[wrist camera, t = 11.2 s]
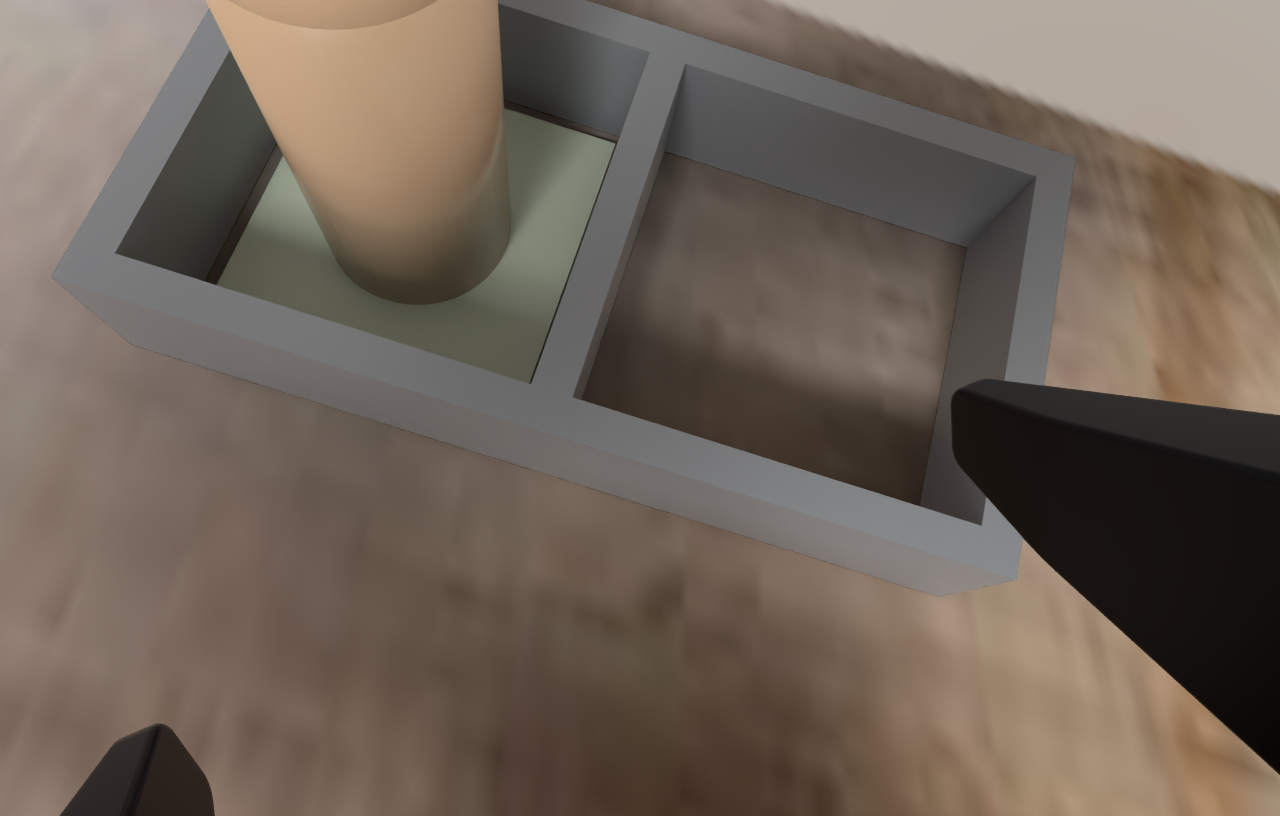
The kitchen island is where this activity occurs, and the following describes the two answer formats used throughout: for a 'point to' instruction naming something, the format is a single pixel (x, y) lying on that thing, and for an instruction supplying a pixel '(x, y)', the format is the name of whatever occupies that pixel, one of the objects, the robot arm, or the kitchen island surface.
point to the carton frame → (588, 273)
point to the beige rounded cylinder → (387, 131)
